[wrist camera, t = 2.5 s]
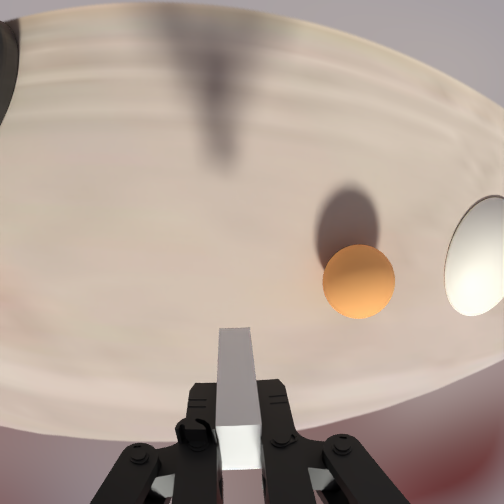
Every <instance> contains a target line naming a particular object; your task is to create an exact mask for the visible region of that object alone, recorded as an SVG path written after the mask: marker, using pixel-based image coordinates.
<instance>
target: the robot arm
mask: <svg viewBox="0 0 504 504" xmlns="http://www.w3.org/2000/svg"><path fill="white" fill-rule="evenodd" d="M17 66H18V49H17V42H16V39H15V36H14V34H13V31H12V30H11V28H10V27H9V26H8V25H7V24H5V23H4V22H2V21H0V125H1V123H2V120H3V118H4V116H5V114H6V111H7V108H8V106H9V103H10V100H11V96H12V93H13V89H14V85H15V80H16V75H17ZM188 400H189V401H188V406H187V407H188V408H187V413H186V418H184V419H182V420H181V421H180V422H178V423H177V425H176V427H175V432H176V435H177V439H178V442H177V443H176V444H174V445H172V446H169V447H166V448H160V449H155V448H154V447H152V446H151V445H149V444H146V443H135V444H132V445H130V446H128V447H126V448H125V449H124V450H123V452H122V453H121V455H120V456H119V458H118V460H117V461H116V463H115V464H114V466H113V468H112V469H111V471H110V472H109V474H108V476H107V477H106V479H105V480H104V482H103V483H102V485H101V487H100V488H99V490H98V491H97V493H96V495H95V496H94V498H93V499H92V501H91V503H90V504H169V503H170V500H171V498H172V504H223V478H222V470H239V469H240V470H241V469H258V468H259V469H260V468H262V489H263V493H264V501H265V504H316V500H315V496H314V492H313V490H316V492H317V493H318V495H319V497H320V498H321V500H322V502H323V503H324V504H410V503H409V501H408V500H407V499H406V498H405V497H404V496H403V494H402V493H401V492H400V491H399V490H398V488H397V487H396V486H395V485H394V484H393V482H392V481H391V480H390V479H389V478H388V476H387V475H386V474H385V473H384V472H383V470H382V469H381V468H380V467H379V466H378V464H377V463H376V462H375V460H374V459H373V458H372V457H371V456H370V455H369V453H368V452H367V451H366V449H365V448H364V447H363V446H362V444H361V443H360V442H359V441H358V440H357V439H356V438H355V437H353V436H350V435H348V434H337V435H333V436H331V437H329V438H328V439H327V440H326V441H325V442H324V441H323V442H322V441H314V440H309V439H306V438H304V437H302V436H301V435H299V433H298V432H297V431H296V429H295V427H294V422H293V418H292V414H291V410H290V405H289V401H288V397H287V393H286V389H285V386H284V385H283V384H282V382H281V381H280V380H279V379H272V380H256V374H255V366H254V358H253V350H252V342H251V333H250V327H248V328H223V329H219V347H218V370H217V383H195V384H194V386H193V387H192V388H191V390H190V392H189V399H188Z"/></svg>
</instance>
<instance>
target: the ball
mask: <svg viewBox="0 0 504 504" xmlns="http://www.w3.org/2000/svg"><path fill="white" fill-rule="evenodd" d="M394 287H395V275H394V271H393V268H392V265H391V263H390V262H389V260H388V259H387V257H386V256H385V255H384V254H383V253H382V252H380V251H379V250H377V249H375V248H374V247H371V246H368V245H360V244H358V245H351V246H348V247H345V248H343V249H341V250H340V251H338V252H337V253H336V254H335V255H334V256H333V257H332V258H331V259H330V260H329V262H328V264H327V266H326V268H325V271H324V274H323V290H324V293H325V296H326V298H327V300H328V302H329V304H330V305H331V306H332V307H333V308H334V309H335V310H336V311H337V312H339V313H340V314H342V315H344V316H347V317H350V318H357V319H360V318H367V317H370V316H373V315H375V314H377V313H378V312H380V311H381V310H382V309H383V308H384V307H385V306H386V305H387V304H388V302H389V301H390V299H391V297H392V294H393V291H394Z"/></svg>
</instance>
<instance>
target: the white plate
mask: <svg viewBox="0 0 504 504" xmlns="http://www.w3.org/2000/svg"><path fill="white" fill-rule="evenodd" d="M444 282H445V290H446V294H447V297H448V300H449V302H450V304H451V305H452V306H453V308H454V309H455V310H457V311H458V312H459V313H461V314H463V315H467V316H475V315H479V314H482V313H484V312H487V311H488V310H490V309H491V308H493V307H494V306H495V305H496V304H497V303H498V302H499V301H500V300H501V299H502V298H503V297H504V199H502V198H497V197H492V198H488V199H485V200H483V201H481V202H479V203H478V204H476V205H475V206H474V207H473V208H472V209H471V210H470V211H469V212H468V213H467V214H466V215H465V217H464V218H463V219H462V221H461V222H460V224H459V226H458V228H457V229H456V232H455V234H454V236H453V238H452V241H451V243H450V246H449V250H448V253H447V258H446V263H445V271H444Z"/></svg>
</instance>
